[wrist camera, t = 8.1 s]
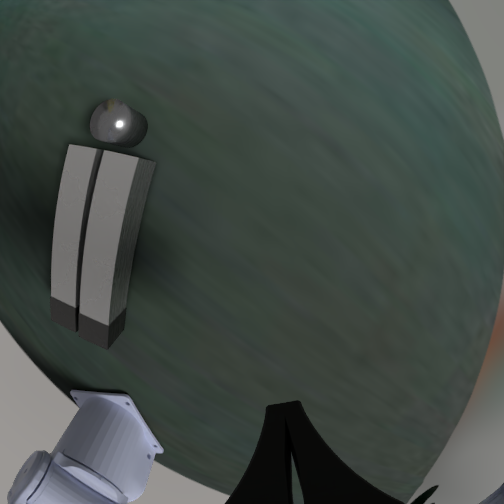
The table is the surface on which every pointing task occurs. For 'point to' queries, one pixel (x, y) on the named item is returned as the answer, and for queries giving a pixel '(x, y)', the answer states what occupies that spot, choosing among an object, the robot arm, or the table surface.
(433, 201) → the table surface
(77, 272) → the tongs fixed arm
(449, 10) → the table surface
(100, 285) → the bar
